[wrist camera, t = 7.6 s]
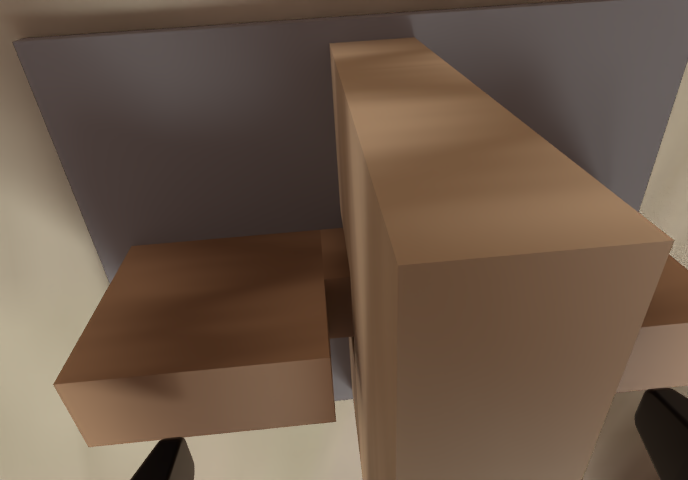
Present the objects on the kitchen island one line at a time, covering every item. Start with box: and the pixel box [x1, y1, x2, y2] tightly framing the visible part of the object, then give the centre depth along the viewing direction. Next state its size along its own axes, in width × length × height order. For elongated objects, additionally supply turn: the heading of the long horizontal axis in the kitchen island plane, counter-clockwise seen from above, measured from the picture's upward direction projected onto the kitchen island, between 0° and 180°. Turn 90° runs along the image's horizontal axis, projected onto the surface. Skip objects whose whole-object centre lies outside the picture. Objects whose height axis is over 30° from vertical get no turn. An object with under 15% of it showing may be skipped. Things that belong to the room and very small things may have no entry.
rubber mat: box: [13, 0, 688, 401], centre depth 14 cm, size 16×13×1 cm
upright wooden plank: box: [329, 37, 674, 480], centre depth 10 cm, size 2×12×9 cm, turn 3°
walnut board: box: [53, 228, 688, 447], centre depth 12 cm, size 14×2×5 cm, turn 93°
